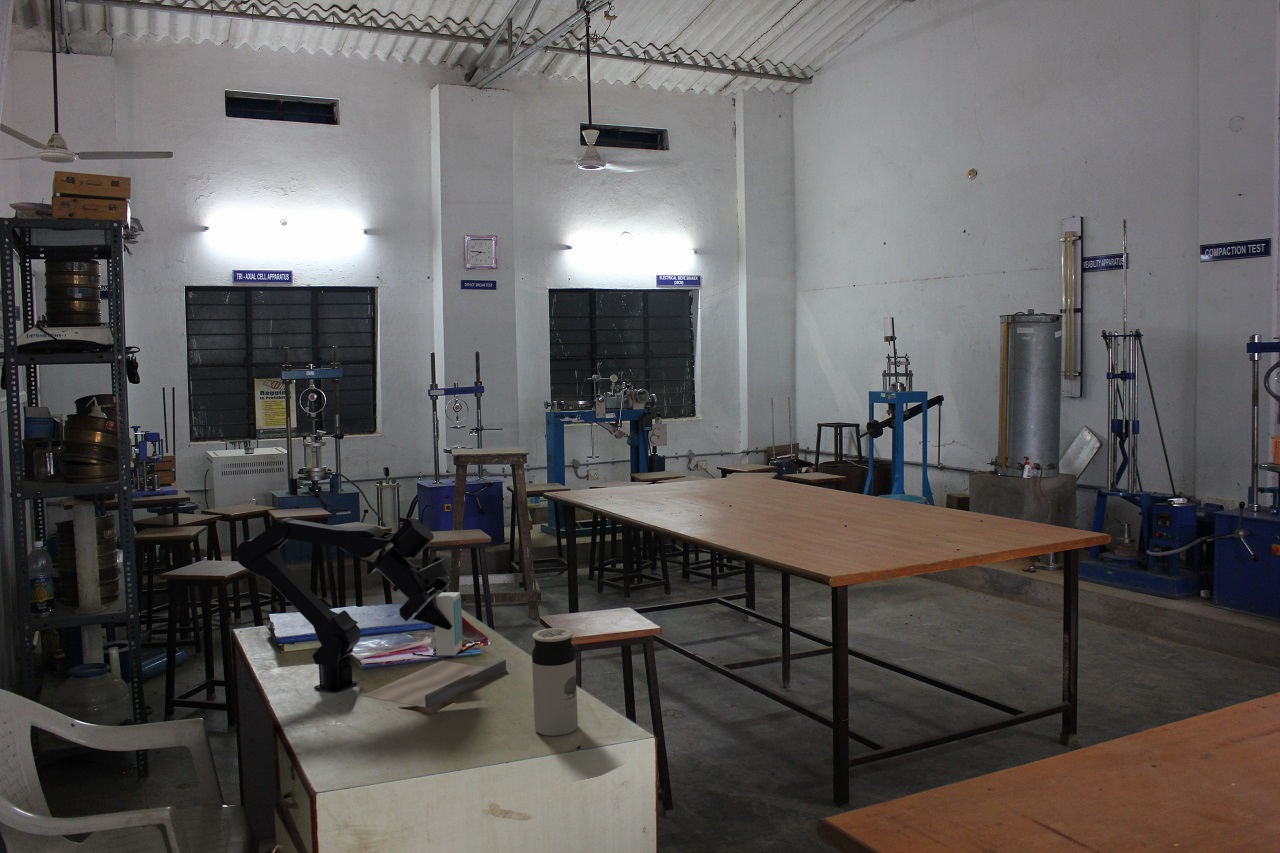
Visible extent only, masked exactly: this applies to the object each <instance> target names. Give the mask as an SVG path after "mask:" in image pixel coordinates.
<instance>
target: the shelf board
mask: <svg viewBox="0 0 1280 853" xmlns="http://www.w3.org/2000/svg"><path fill="white" fill-rule="evenodd" d="M504 672H507V659H505V658H503V659H502V658H500V659H498V660H496V661H494V662H492V663H489V664H488V665H486V666H481V665H480V666H479V665H471V664H468V663H467V664H466V663H459V662H452V661H446V660H441V661H438V662H436V663H434V664H431V665H428V666H427V667H424V668H422V669H420V670H417V671H415V672H413V673H410V674H408V675H406V676H404V677H401V678H399V679H397V680H395V681H392V682H391V683H390V682H389V683H388V684H386V685H383V686H381V687H379V688H376V689H375V690H372V691H369V692H368V693H365V694H363V695H362V697H366V698H372V699H376V700H382V701H388V702H394V703H399V704H405V705H409V706H401V707H399V709H400V710H406V711H411V712H416V713H422V714H428V715H432V714H434V713H436V712H438V711H440V710H442V709H443V708H444V709H445V708H446V707H448V706H450V705H452V704H454V702H453V701H452V702H446V701H448V700H450V699H452V698H454V697H456V696H458V695H460V694H463V693H464V692H466V691H469V690H470V689H472V688H475V687H476V686H479V685H481V684H482V683H484V682H486V681H489V680H490V679H492V678H494V677H496V676H498V675H500V674H503V673H504Z"/></svg>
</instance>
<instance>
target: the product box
mask: <svg viewBox="0 0 1280 853" xmlns="http://www.w3.org/2000/svg"><path fill="white" fill-rule="evenodd" d="M436 605H437V607H438V608H439V610H440V611H441V612H442V613H443V615H444V616H445V617H446V618H447V619H448V621H449V622H450V623H451V625H452V627H451V629H450V630H447V629H444V628H441V627H438V626H435V625H434V630H435V631H434V632H435V640H436V655H454V656H456V655H457V654H459V653H460V652H459V651H460V649H461V648H462V639H463V636H462V635H463V621H462V620H463V616H462V615H463V614H462V596H461V592H459V591H458V592H454V591H453V592H451V591H450V592H449V591H448V592H442V593H440V594H439V595H438V596H437V597H436ZM458 652H459V653H458Z"/></svg>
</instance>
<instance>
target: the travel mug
mask: <svg viewBox="0 0 1280 853" xmlns="http://www.w3.org/2000/svg"><path fill="white" fill-rule="evenodd" d="M573 636H574V631H572V630H570V629H568V628H559V627H553V628H552V627H551V628H550V627H549V628H545V629H544V628H543V629H540V630H537V631H535V632H534V633H533V634H532V638H533V640H534V647H533V649H532V652H531V663H532V664H531V667H532V686H533V687H532V689H533V690H532V693H533V713H534V714H533V715H534V716H533V718H534V730H535V732H536V733H538V734H540V735H543V736H546V737H547V736H548V737H559V736H558V735H561V736H563V735H564V736H565V735H568V734H570V733H572V732H574V731H576V730H577V729H578V727H579V725H578V724H579V722H578V721H579V720H578V719H579V718H578V696H577V695H578V694H577V693H578V692H577V669H576V666H577V665H576V663H577V662H576V649H575V646H574V645H573V643H572V639H573Z"/></svg>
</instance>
